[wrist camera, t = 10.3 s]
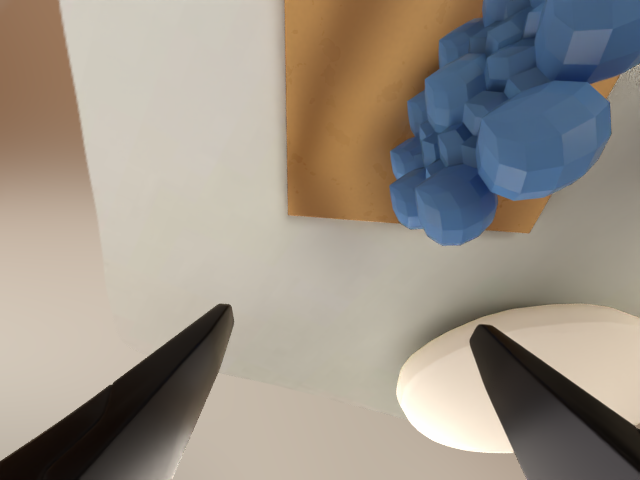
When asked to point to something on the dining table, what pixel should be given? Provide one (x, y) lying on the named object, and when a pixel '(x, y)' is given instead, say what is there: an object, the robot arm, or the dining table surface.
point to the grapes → (510, 111)
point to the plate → (541, 340)
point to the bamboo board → (366, 102)
